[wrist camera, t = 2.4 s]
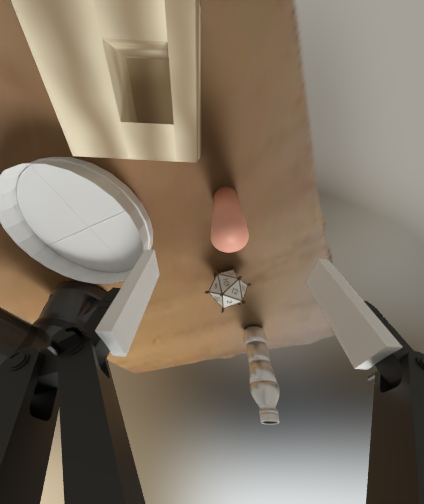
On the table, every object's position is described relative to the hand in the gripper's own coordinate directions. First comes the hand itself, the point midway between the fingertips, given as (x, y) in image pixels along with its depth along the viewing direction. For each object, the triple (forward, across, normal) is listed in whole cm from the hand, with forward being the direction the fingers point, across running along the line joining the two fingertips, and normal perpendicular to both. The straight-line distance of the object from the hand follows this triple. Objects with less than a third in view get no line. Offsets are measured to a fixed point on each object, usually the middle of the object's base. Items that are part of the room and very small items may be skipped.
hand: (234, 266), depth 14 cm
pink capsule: (+17, 0, 0) cm, 17 cm away
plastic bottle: (+17, -12, +39) cm, 44 cm away
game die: (+17, -2, +17) cm, 24 cm away
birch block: (+17, +11, -12) cm, 23 cm away
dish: (+17, +24, +6) cm, 30 cm away
